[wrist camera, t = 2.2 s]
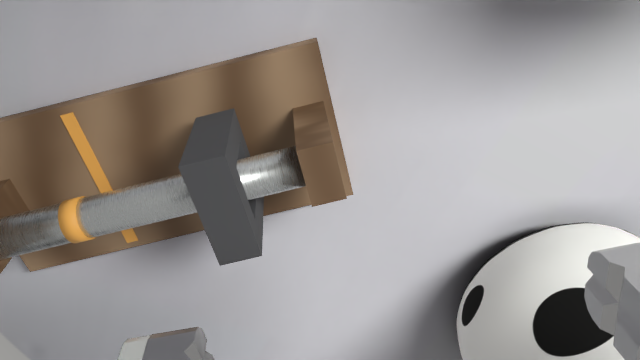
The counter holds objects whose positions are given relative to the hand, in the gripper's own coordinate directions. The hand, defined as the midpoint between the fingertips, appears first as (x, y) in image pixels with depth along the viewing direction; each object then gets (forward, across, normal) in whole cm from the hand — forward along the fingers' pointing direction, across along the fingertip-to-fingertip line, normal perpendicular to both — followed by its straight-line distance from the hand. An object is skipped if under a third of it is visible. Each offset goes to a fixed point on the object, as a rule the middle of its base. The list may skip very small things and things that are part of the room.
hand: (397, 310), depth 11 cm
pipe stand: (+24, +11, +6) cm, 27 cm away
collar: (+21, +6, +5) cm, 23 cm away
